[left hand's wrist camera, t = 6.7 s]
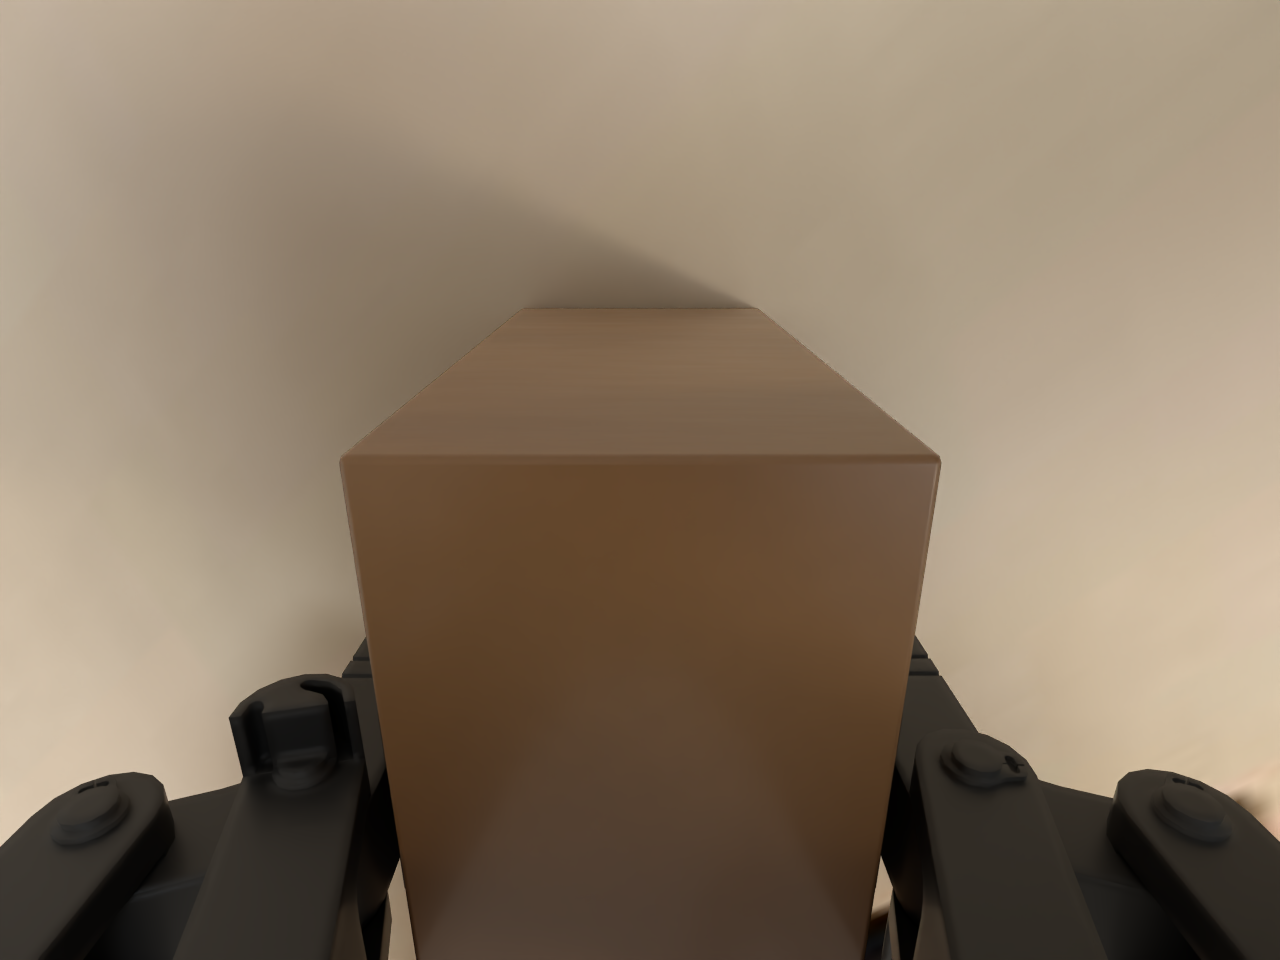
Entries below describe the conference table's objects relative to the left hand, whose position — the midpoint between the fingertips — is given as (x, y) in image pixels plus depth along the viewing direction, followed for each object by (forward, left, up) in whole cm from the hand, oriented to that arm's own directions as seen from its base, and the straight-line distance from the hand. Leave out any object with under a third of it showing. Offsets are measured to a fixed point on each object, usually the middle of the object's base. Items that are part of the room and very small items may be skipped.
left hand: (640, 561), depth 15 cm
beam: (+29, +6, -1) cm, 29 cm away
